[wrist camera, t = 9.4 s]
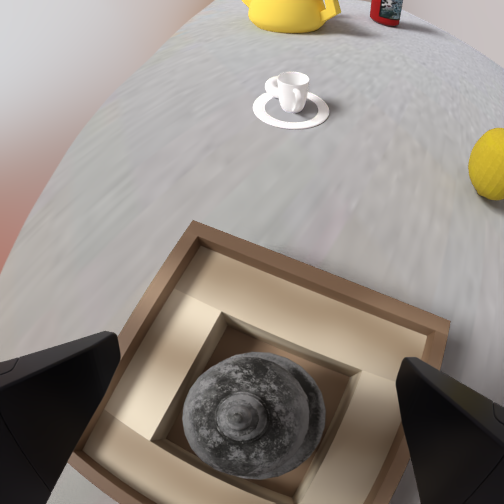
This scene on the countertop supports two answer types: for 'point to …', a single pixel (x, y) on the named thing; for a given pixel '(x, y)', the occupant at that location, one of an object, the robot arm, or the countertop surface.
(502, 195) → the lemon
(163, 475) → the walnut box
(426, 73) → the countertop surface
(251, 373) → the grey stone tall piece
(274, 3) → the teapot
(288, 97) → the teacup and saucer
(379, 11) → the beverage can
